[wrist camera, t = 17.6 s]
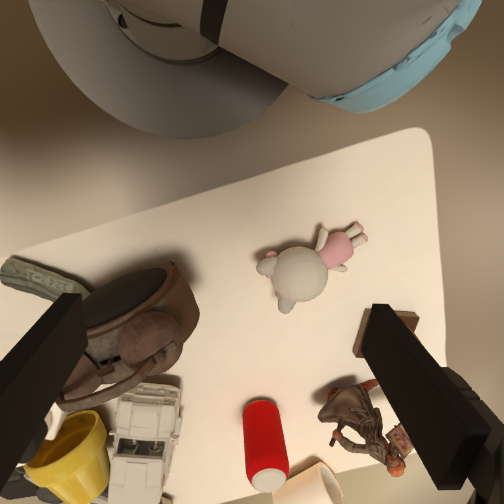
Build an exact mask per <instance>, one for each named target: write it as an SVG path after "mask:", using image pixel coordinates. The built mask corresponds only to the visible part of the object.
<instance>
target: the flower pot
mask: <svg viewBox="0 0 504 504" xmlns="http://www.w3.org/2000/svg"><path fill="white" fill-rule="evenodd" d="M106 437H107V431H106V428H105V426H104V424H103V422H102V420H101V418H100V416H99V414H98V413H97V412H96V411H93V410H84V411H80V412H77V413H74V414H71V415H69V416H67V417H66V418H65V420H64V422H63V424H62V426H61V428H60V430H59V431H58V433H57V435H56V437H55V438H54V440H47V439H44V441H43V443H42V445H41V446H40V448H39V450H38V452H37V454H36V455H35V457H34V458H33V459H32V460H31V461H30V462H28V463H27V464H25V465H23V467H24V469H25V471H26V473H27V474H28V476H29V477H30V478H31V480H32V481H33V482H34V484H36V485H37V486H39V487H46V488H48V489H49V490H50V491H51V492H53V493H54V494H55V495H56V496H57V497H59V498H60V499H61V500H62V501H63V502H65V503H66V504H89V503H91V502H92V501H93V500H95V499H96V498H97V497H98V496H99V495H100V494H101V493H102V492H103V491H104V489H105V488H106V487H107V485H108V483H109V481H110V469H111V464H110V460H109V456H108V451H107V447H106V442H105V440H106Z"/></svg>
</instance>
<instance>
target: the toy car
mask: <svg viewBox="0 0 504 504" xmlns="http://www.w3.org/2000/svg"><path fill="white" fill-rule="evenodd" d="M179 408H180V388H177V387H174V386H171V385H163V384H153V383H143V382H141V383H140V384H139V385H137V386H136V387H135V388H133V389H131V390H129V391H127V392H126V393H124V394H122V395H120V396H119V399H118V408H117V412H116V416H115V428H114V429H115V430H112V431H110V432H109V435H114V439H115V441H113V446H114V453H113V452H112V453H113V458H112V459H111V469H110V481H109V491H108V504H159V503H160V499H161V496H162V493H163V488H164V486H165V484H166V479H167V478H168V477H169V473H170V468H171V461H172V450H173V446H172V444H178V439H179V433H180V427H181V421H182V417H178V415H179ZM114 443H115V444H114Z"/></svg>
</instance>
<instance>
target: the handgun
mask: <svg viewBox="0 0 504 504" xmlns="http://www.w3.org/2000/svg"><path fill="white" fill-rule="evenodd" d="M108 491H109V483H108V485H107V487H106V488H105V489H104V491H103V492H102V493H101V494H100V495H99V496H98V497H97V498H96V499H95V500H93V501H92V502H91V503H90V504H108ZM0 496H1V497H3V498H5V499H9V500H11V499H18V498H24V497H30V496H37V497H38V499H39V500H41V501H43V502H46V503H51V504H59V503H62V502H63V501H62V500H61V499H60V498H59V497H57V496H56V495H55V494H54V493H53V492H51V491H50V490H49V489H48V488H46V487H39V486H37V485H36V484H34V482H33V481H32V480H31V478H30V477H29V476H28V474H27V473H26V471H25V469H24V467H23V465H22V466H19V467H16V468H15V470H14V471H13V473H12V475H11V477H10V478H9V480H8V482H7V483H6V485H5V487H4V488H3V490H2V492H1V493H0ZM159 504H173V502H172V501H171V500H169V499H167V498H164V497H162V496H161V499H160V503H159Z"/></svg>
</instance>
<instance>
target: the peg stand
mask: <svg viewBox="0 0 504 504" xmlns="http://www.w3.org/2000/svg"><path fill="white" fill-rule="evenodd" d="M370 312H371V309H365V312H364V315H363V318H362V322H361V325H360V328H359V332H358V335H357V338H356V342H355V345H354V348H353V353H354V355H355V357H356V358H364V356H363V354H362V353H361V351H360V350H361V346H362V342H363V339H364V335H365V331H366V327H367V323H368V320H369V316H370ZM394 312H395V313H396V314H397V315H398V316H399V318H400V319H401V320H402V321H404V322H405V323H406V324H407V325H408V326H409V327H410V329H411V330H412V331H413V332H414V331H415V329H416V326H417V323H418V321H419V316H418V315H417V314H416V313H414V312H403V311H394Z"/></svg>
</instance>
